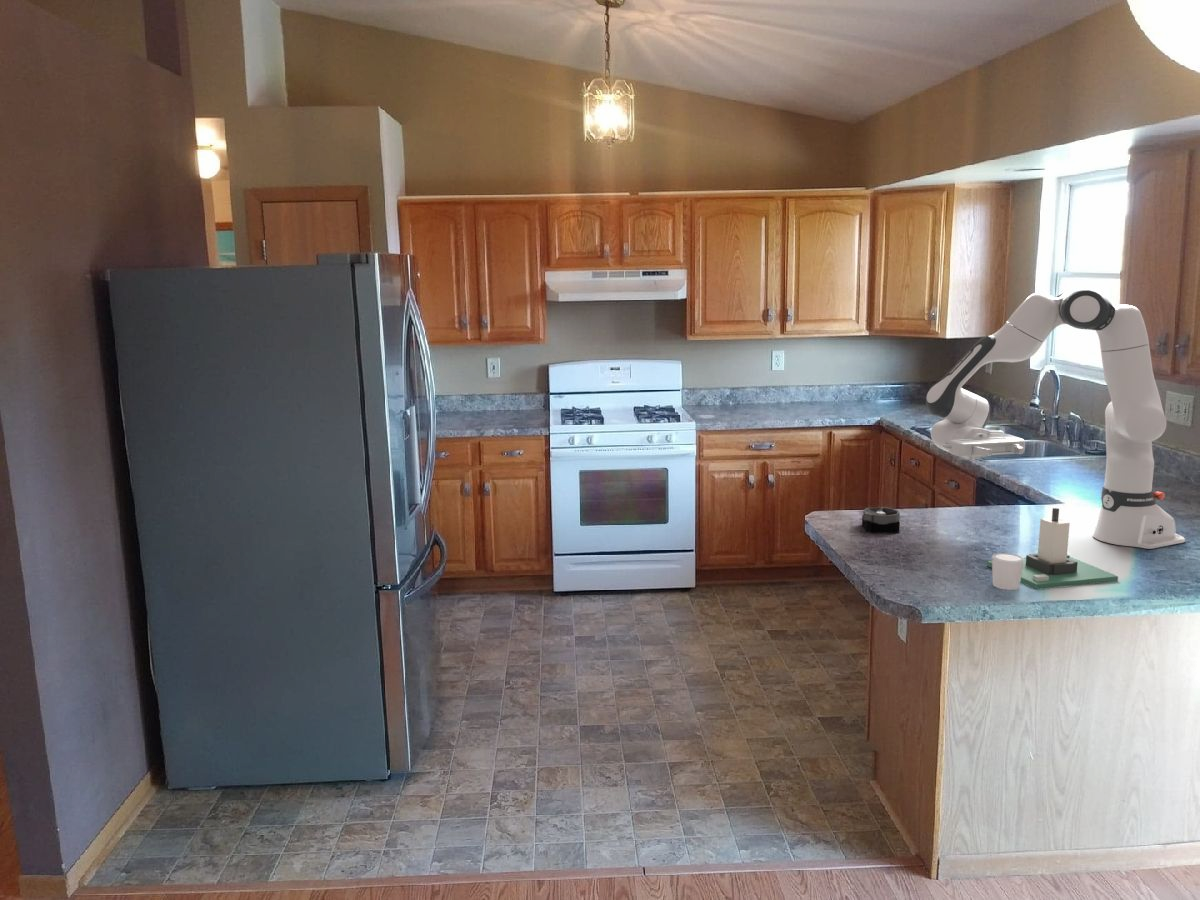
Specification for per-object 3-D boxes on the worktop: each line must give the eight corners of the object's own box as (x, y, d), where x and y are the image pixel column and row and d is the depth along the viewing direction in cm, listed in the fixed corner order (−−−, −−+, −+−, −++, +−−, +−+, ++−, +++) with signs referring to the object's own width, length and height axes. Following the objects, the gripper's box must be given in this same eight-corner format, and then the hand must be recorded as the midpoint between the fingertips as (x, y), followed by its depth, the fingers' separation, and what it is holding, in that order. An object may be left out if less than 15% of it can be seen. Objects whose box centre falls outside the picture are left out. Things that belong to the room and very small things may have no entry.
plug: (1051, 564, 217) (1055, 505, 214) (1065, 570, 212) (1070, 510, 210) (1036, 566, 216) (1041, 506, 214) (1051, 572, 212) (1056, 511, 209)
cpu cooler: (895, 506, 259) (903, 515, 249) (895, 525, 260) (902, 534, 250) (859, 506, 260) (865, 514, 250) (859, 524, 261) (865, 534, 251)
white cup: (985, 586, 207) (987, 557, 205) (997, 578, 211) (998, 550, 210) (1015, 592, 202) (1017, 563, 200) (1026, 585, 206) (1028, 556, 205)
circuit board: (1063, 558, 226) (1064, 544, 225) (1117, 581, 208) (1119, 566, 208) (987, 565, 221) (988, 551, 220) (1036, 589, 204) (1037, 574, 203)
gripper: (940, 433, 242) (970, 442, 229) (1005, 429, 246) (1039, 438, 233) (938, 456, 243) (969, 465, 230) (1004, 452, 247) (1038, 461, 234)
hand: (1005, 451), depth 231 cm, fingers open, 8 cm apart
